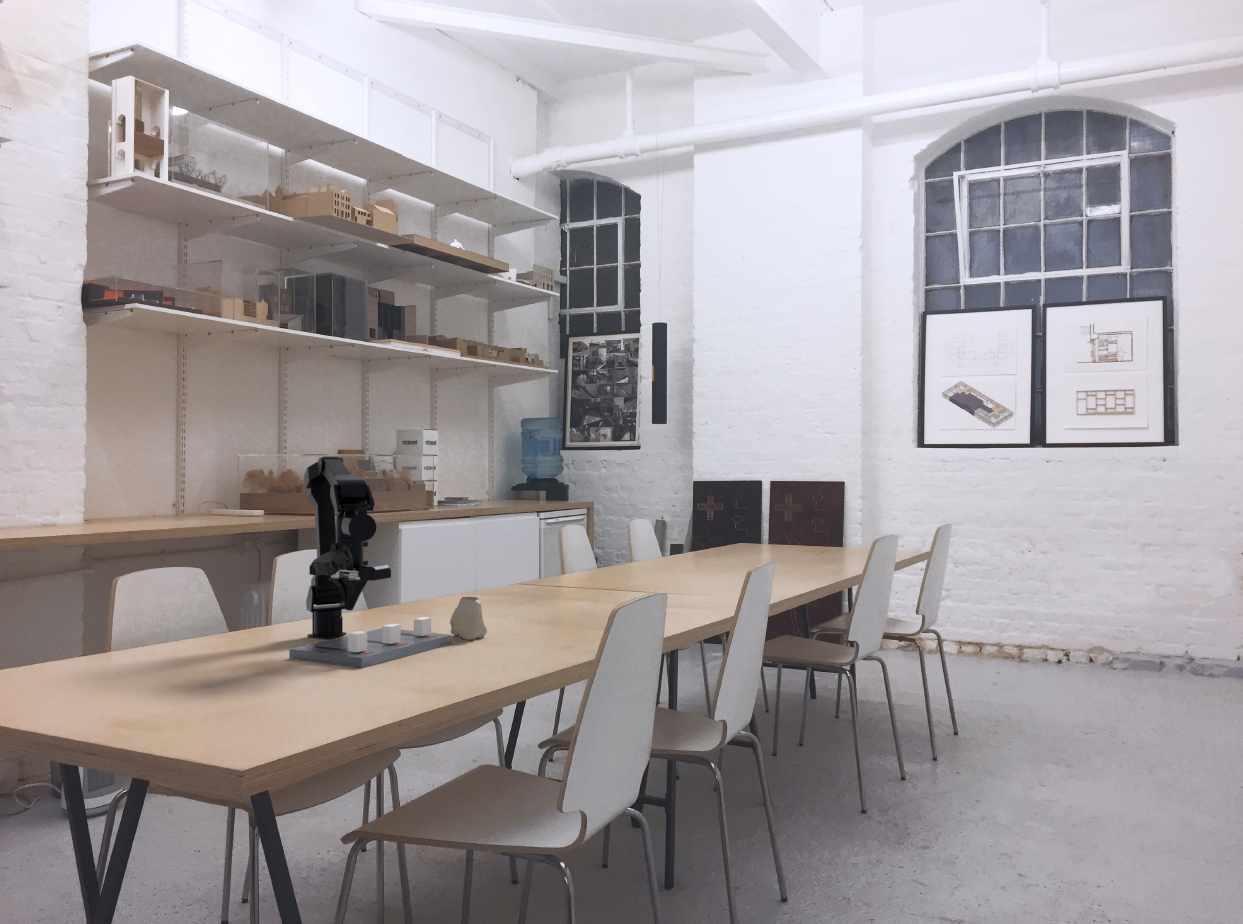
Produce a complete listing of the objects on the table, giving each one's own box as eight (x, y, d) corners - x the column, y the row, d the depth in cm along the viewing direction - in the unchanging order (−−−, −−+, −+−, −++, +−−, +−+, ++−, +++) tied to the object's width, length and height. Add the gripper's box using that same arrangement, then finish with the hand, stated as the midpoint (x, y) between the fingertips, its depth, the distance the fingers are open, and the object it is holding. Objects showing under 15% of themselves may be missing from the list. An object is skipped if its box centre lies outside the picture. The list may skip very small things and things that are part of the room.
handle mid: (382, 642, 196) (382, 625, 196) (391, 640, 199) (391, 623, 199) (390, 643, 195) (390, 626, 195) (400, 641, 198) (400, 624, 198)
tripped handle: (347, 651, 187) (347, 633, 187) (358, 648, 190) (358, 631, 190) (356, 652, 186) (356, 634, 186) (367, 649, 189) (367, 632, 189)
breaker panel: (289, 658, 192) (289, 648, 192) (383, 636, 216) (383, 627, 216) (361, 668, 182) (361, 657, 182) (451, 643, 207) (451, 634, 207)
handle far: (413, 635, 205) (413, 618, 205) (422, 632, 208) (422, 616, 208) (422, 636, 204) (422, 619, 204) (431, 633, 206) (431, 617, 206)
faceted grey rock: (486, 646, 215) (498, 604, 218) (470, 639, 208) (484, 597, 211) (453, 638, 218) (466, 598, 221) (437, 632, 212) (451, 590, 215)
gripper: (289, 538, 196) (289, 611, 196) (354, 542, 187) (354, 620, 187) (329, 534, 206) (329, 604, 206) (392, 538, 197) (392, 611, 197)
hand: (349, 610), depth 199 cm, fingers closed
